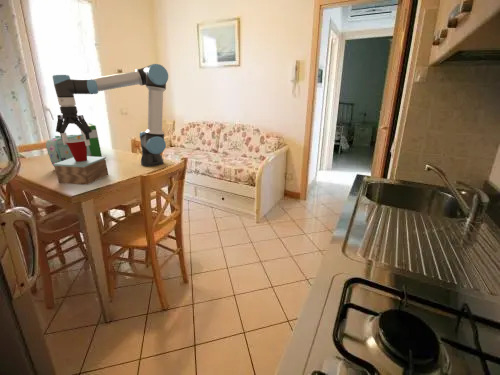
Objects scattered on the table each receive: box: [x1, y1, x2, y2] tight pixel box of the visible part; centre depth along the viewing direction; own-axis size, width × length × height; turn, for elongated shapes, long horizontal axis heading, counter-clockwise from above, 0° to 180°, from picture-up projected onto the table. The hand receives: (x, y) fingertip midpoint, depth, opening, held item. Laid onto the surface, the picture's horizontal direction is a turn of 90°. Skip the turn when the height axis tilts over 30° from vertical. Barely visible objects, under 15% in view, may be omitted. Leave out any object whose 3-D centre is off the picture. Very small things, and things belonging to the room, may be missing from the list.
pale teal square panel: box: [52, 156, 107, 167], centre depth 150 cm, size 19×18×1 cm
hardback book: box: [79, 122, 103, 157], centre depth 204 cm, size 18×7×24 cm, turn 43°
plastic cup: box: [65, 139, 87, 162], centre depth 147 cm, size 11×11×12 cm
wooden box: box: [53, 159, 109, 186], centre depth 152 cm, size 18×18×10 cm
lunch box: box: [45, 133, 91, 166], centre depth 177 cm, size 27×10×21 cm, turn 168°
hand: (77, 145), depth 146 cm, fingers open, 13 cm apart
